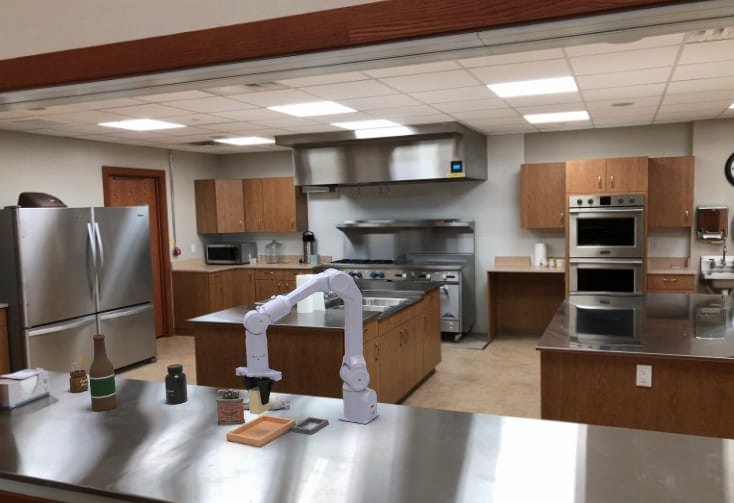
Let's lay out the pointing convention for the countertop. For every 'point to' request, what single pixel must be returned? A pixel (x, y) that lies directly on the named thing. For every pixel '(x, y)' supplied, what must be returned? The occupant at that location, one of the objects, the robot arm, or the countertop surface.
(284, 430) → the parts tray
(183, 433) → the countertop surface
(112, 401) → the beer bottle
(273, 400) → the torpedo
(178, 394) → the supplement bottle
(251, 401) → the tan rectangular block
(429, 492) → the countertop surface
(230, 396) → the lighter
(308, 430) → the socket
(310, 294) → the robot arm
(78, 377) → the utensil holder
